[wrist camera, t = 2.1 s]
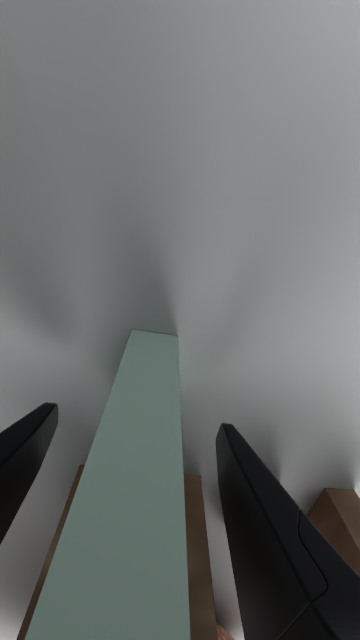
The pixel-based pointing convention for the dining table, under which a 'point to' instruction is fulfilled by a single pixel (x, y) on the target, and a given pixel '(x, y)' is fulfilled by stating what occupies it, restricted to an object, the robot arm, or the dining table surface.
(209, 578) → the domino
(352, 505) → the domino
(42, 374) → the dining table surface
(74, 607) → the domino
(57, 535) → the domino
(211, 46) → the dining table surface
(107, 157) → the dining table surface
